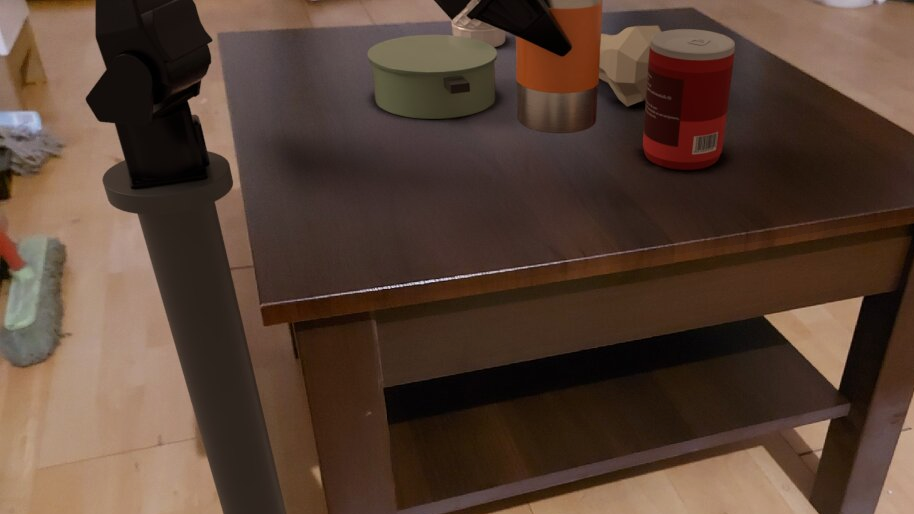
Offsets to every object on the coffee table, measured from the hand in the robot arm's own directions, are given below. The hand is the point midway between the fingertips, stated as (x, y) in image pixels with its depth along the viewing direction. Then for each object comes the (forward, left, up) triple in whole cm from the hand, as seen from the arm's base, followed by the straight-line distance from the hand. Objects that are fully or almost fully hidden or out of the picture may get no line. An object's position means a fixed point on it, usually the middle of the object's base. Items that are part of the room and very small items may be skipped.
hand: (575, 40), depth 69 cm
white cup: (+9, +47, -13) cm, 50 cm away
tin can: (-1, +1, -7) cm, 7 cm away
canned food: (+14, +4, -13) cm, 20 cm away
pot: (-3, +28, -13) cm, 31 cm away
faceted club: (+16, +28, -13) cm, 35 cm away
